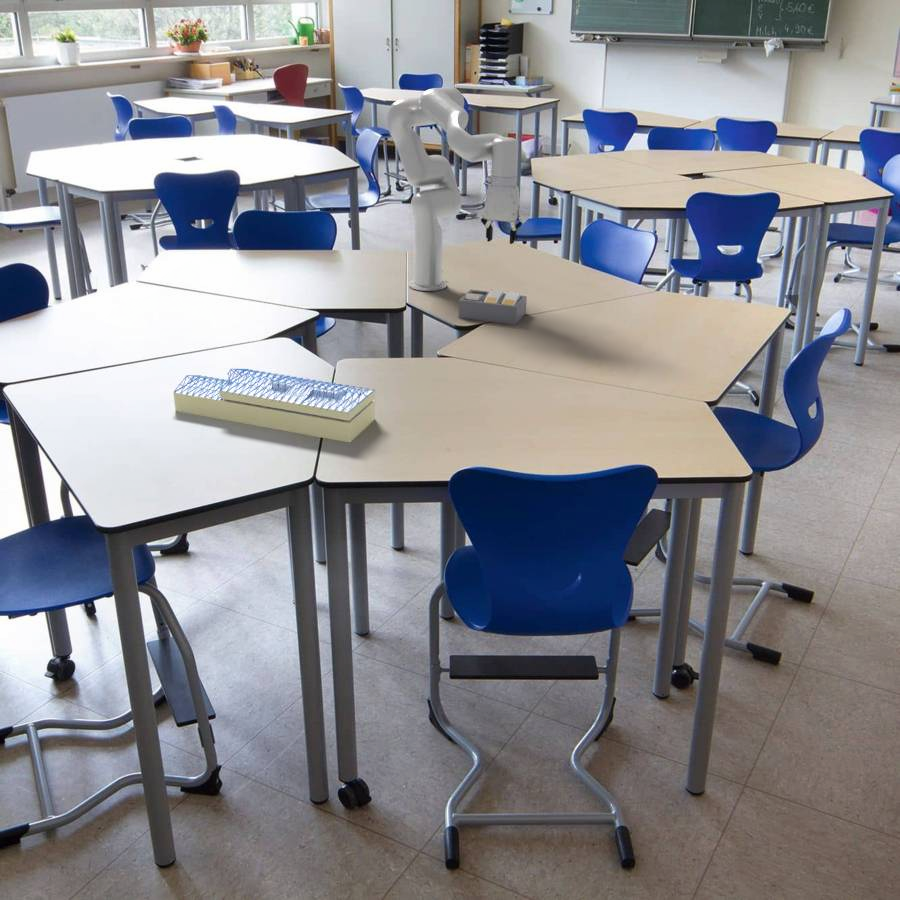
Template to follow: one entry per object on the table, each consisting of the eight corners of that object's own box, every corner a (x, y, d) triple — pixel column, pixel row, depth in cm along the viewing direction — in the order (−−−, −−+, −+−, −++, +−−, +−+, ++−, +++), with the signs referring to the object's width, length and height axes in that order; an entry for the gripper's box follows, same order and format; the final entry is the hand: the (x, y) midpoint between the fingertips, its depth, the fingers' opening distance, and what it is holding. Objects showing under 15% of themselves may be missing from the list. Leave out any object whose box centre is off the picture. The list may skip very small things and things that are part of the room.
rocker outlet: (507, 296, 301) (507, 291, 300) (520, 297, 300) (520, 292, 299) (500, 309, 295) (500, 304, 294) (513, 311, 294) (513, 306, 293)
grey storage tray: (470, 306, 308) (470, 289, 306) (525, 313, 304) (526, 296, 301) (458, 317, 298) (459, 300, 296) (515, 324, 293) (516, 307, 291)
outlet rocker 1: (473, 298, 305) (473, 293, 304) (485, 300, 304) (486, 294, 303) (465, 299, 297) (466, 293, 297) (478, 300, 296) (478, 294, 296)
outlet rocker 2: (490, 294, 302) (490, 289, 301) (502, 295, 301) (502, 290, 300) (483, 307, 297) (482, 302, 296) (495, 309, 296) (495, 304, 295)
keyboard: (375, 419, 229) (375, 378, 225) (348, 445, 216) (347, 402, 212) (209, 391, 242) (205, 351, 238) (174, 413, 230) (169, 372, 225)
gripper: (471, 181, 288) (469, 241, 296) (529, 186, 283) (525, 247, 291) (479, 176, 294) (477, 236, 302) (535, 181, 290) (531, 241, 298)
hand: (500, 241), depth 297 cm, fingers open, 6 cm apart
